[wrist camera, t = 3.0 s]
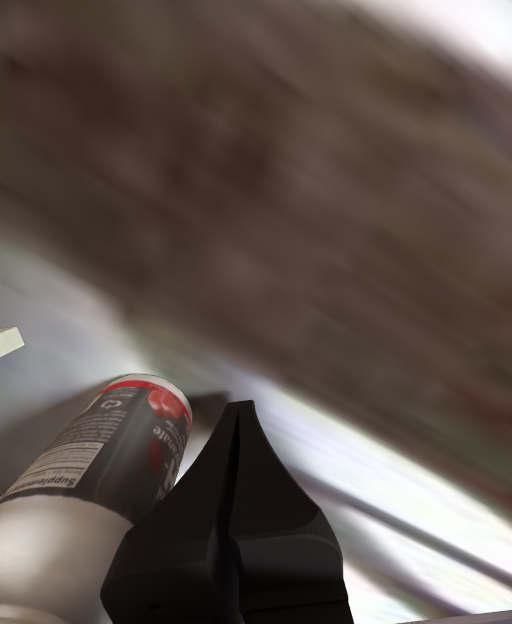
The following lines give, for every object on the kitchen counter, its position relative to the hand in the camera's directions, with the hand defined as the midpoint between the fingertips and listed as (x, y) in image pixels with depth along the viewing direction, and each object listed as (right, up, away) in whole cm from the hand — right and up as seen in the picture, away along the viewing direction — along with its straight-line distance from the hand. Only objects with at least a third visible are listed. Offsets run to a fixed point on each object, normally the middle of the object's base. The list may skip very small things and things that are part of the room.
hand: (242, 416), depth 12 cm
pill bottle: (-6, 0, +2) cm, 6 cm away
